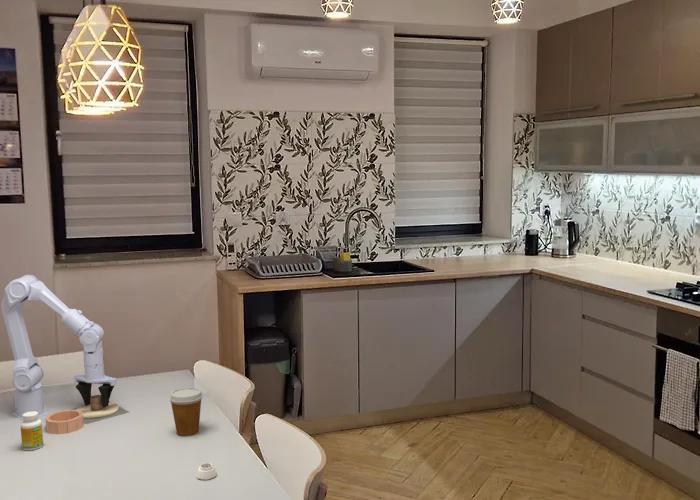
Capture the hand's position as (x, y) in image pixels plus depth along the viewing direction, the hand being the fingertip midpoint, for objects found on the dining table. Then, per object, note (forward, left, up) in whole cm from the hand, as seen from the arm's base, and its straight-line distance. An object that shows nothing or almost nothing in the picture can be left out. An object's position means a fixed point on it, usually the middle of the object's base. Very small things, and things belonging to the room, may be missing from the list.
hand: (96, 405), depth 225 cm
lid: (0, 0, -2) cm, 2 cm away
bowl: (+6, -13, -2) cm, 14 cm away
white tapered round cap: (+64, -1, -3) cm, 64 cm away
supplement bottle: (+13, -25, -3) cm, 28 cm away
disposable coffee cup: (+35, +11, -3) cm, 37 cm away
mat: (0, 0, -2) cm, 2 cm away
